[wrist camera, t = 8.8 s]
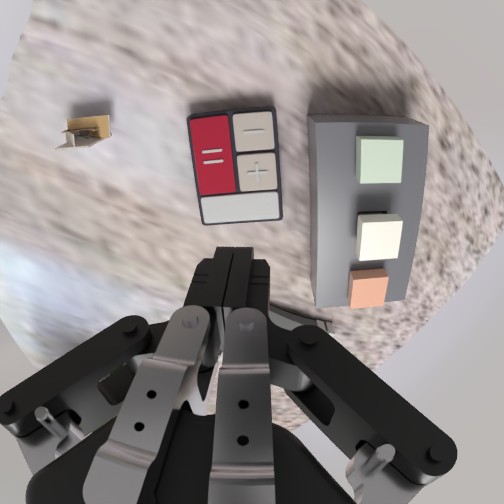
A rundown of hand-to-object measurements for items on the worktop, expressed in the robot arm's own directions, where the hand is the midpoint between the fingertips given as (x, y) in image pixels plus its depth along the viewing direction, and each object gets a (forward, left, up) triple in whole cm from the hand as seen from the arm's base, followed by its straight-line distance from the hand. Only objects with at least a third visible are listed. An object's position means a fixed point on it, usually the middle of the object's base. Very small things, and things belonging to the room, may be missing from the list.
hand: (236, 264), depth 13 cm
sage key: (+2, +14, -27) cm, 30 cm away
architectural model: (-4, -23, -31) cm, 39 cm away
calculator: (+4, -3, -31) cm, 32 cm away
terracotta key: (+20, +14, -27) cm, 36 cm away
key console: (+11, +14, -31) cm, 35 cm away
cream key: (+11, +14, -25) cm, 31 cm away
